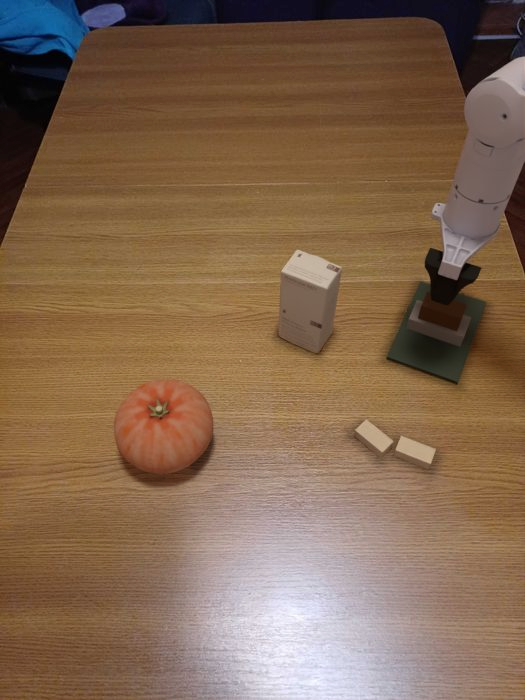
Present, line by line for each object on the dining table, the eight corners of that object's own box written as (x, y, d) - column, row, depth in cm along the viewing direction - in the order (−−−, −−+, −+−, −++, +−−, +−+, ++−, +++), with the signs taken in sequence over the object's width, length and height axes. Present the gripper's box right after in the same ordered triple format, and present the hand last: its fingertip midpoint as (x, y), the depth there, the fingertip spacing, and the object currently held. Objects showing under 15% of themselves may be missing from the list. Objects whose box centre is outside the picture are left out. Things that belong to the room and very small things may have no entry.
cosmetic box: (277, 337, 79) (276, 271, 69) (293, 314, 81) (295, 246, 72) (320, 356, 77) (325, 290, 67) (335, 331, 79) (343, 264, 70)
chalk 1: (392, 447, 69) (394, 441, 68) (380, 458, 68) (382, 452, 67) (364, 425, 71) (366, 418, 70) (353, 435, 70) (354, 429, 69)
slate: (485, 304, 81) (486, 301, 81) (457, 384, 74) (458, 382, 74) (419, 283, 84) (420, 280, 83) (385, 359, 76) (386, 356, 76)
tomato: (102, 442, 70) (84, 406, 64) (175, 386, 75) (165, 346, 68) (162, 506, 66) (149, 473, 59) (236, 442, 70) (231, 405, 64)
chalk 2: (433, 454, 69) (436, 449, 67) (428, 469, 67) (430, 464, 66) (399, 441, 70) (401, 435, 69) (393, 455, 69) (395, 450, 67)
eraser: (467, 327, 78) (476, 304, 75) (460, 347, 77) (469, 324, 73) (414, 309, 80) (420, 286, 77) (406, 328, 79) (412, 305, 75)
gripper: (462, 133, 65) (434, 228, 76) (421, 218, 58) (396, 310, 69) (529, 151, 64) (490, 246, 75) (496, 241, 56) (458, 331, 67)
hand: (449, 278), depth 72 cm, fingers open, 7 cm apart
